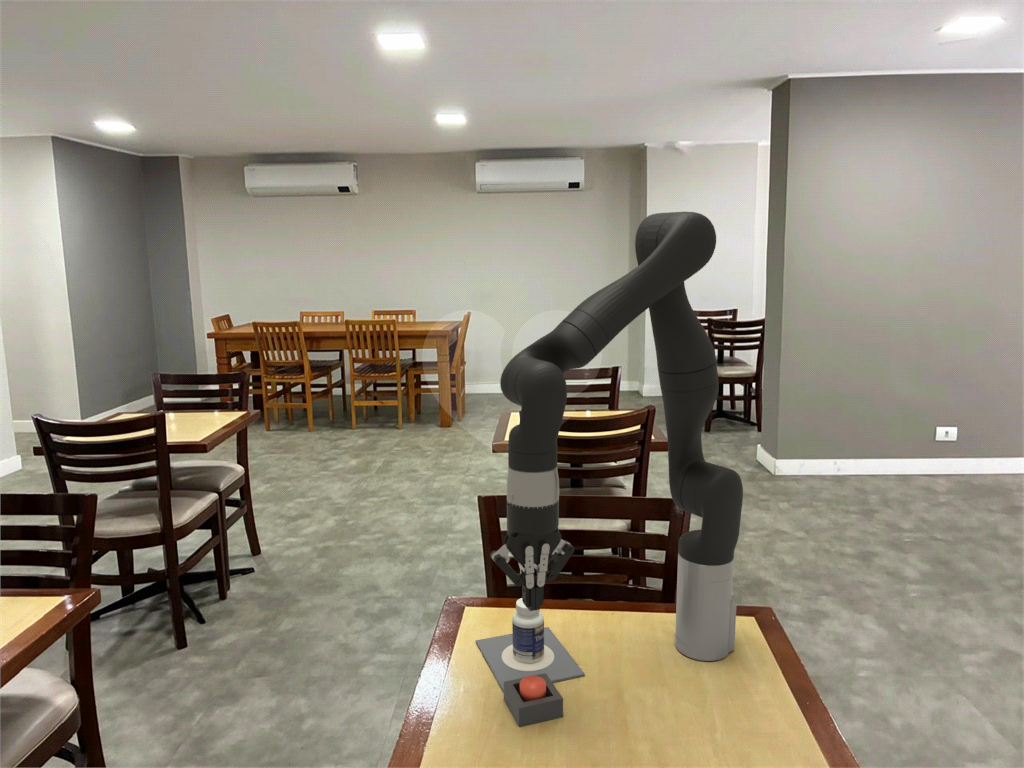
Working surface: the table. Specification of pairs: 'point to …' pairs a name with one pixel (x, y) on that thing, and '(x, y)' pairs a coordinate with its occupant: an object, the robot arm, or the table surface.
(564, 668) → the grey mat
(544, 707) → the button housing
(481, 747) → the table surface
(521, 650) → the pill bottle
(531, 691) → the button
